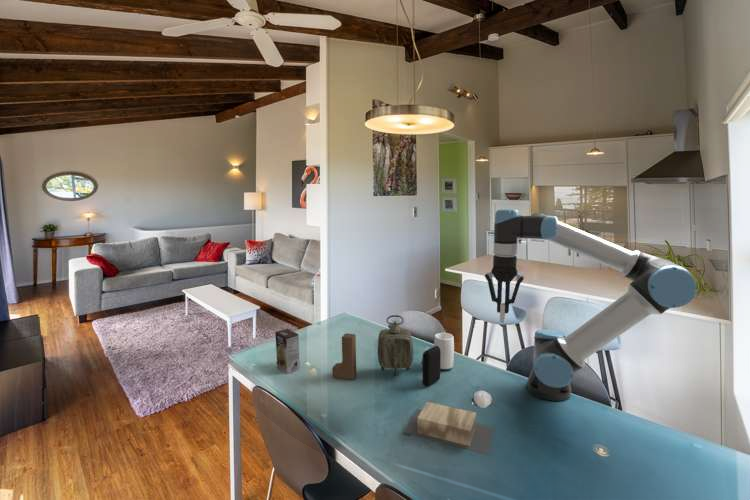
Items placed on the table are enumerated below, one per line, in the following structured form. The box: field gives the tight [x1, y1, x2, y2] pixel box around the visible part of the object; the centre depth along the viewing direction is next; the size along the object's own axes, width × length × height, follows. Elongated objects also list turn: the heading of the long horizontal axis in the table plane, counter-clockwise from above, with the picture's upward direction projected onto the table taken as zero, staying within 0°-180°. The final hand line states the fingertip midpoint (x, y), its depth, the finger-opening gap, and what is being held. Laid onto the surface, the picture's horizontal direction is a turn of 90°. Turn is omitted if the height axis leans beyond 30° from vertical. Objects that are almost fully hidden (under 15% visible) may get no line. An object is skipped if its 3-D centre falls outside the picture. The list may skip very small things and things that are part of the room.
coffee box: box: [274, 328, 301, 375], centre depth 165 cm, size 9×6×16 cm
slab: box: [417, 401, 477, 446], centre depth 121 cm, size 5×10×16 cm
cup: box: [433, 332, 455, 370], centre depth 164 cm, size 8×8×14 cm
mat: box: [402, 408, 496, 456], centre depth 121 cm, size 26×14×1 cm, turn 65°
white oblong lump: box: [473, 386, 492, 409], centre depth 138 cm, size 12×6×6 cm, turn 163°
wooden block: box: [331, 332, 357, 381], centre depth 157 cm, size 9×4×18 cm, turn 72°
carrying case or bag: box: [421, 345, 441, 388], centre depth 150 cm, size 11×3×15 cm, turn 134°
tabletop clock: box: [377, 314, 414, 377], centre depth 158 cm, size 14×9×25 cm, turn 88°
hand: (502, 321), depth 135 cm, fingers closed
